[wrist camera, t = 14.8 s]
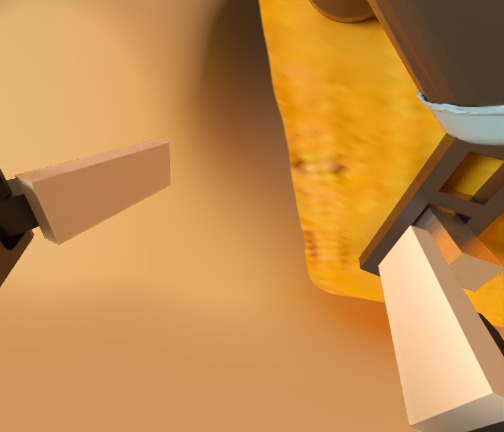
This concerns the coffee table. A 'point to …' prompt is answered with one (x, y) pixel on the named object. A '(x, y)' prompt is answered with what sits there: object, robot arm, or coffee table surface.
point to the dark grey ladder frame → (440, 198)
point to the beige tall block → (459, 247)
